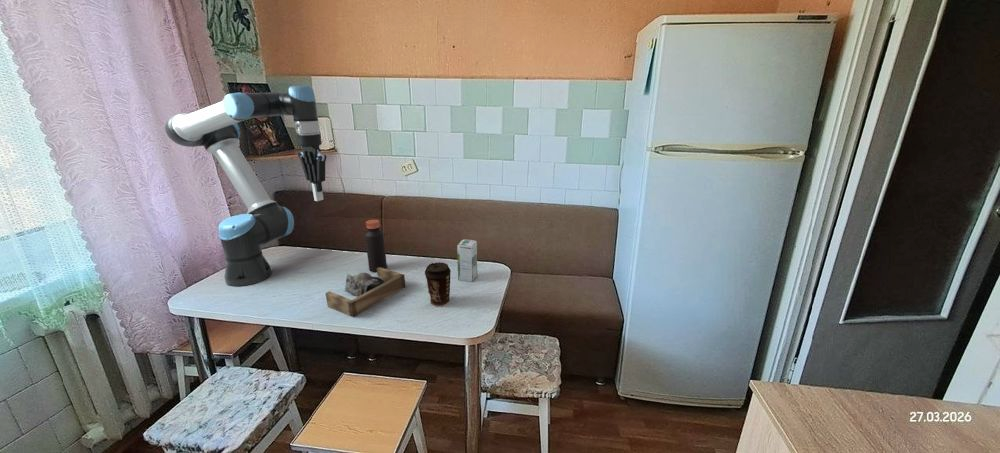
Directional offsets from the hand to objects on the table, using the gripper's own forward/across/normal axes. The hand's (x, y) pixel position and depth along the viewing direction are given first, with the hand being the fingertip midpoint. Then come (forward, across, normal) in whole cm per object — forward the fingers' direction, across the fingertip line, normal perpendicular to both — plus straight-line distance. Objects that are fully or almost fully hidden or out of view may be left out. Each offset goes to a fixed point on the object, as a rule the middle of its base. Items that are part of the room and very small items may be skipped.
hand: (319, 200), depth 143 cm
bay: (+29, +26, -5) cm, 40 cm away
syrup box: (+30, +48, +24) cm, 61 cm away
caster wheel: (+30, +23, -2) cm, 38 cm away
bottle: (+30, +13, +12) cm, 34 cm away
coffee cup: (+30, +50, +5) cm, 58 cm away
